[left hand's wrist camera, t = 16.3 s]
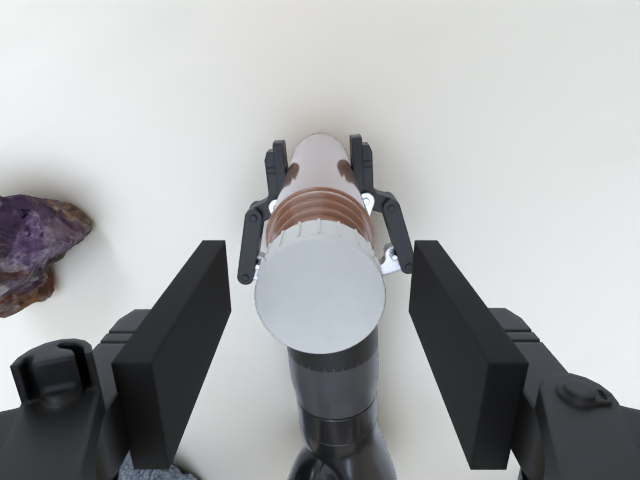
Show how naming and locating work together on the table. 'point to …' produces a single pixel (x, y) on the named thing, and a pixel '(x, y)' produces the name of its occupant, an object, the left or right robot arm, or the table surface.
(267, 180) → the right robot arm
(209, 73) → the table surface
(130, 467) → the koala plush
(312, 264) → the cap
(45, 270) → the rock
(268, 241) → the bottle
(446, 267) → the left robot arm
